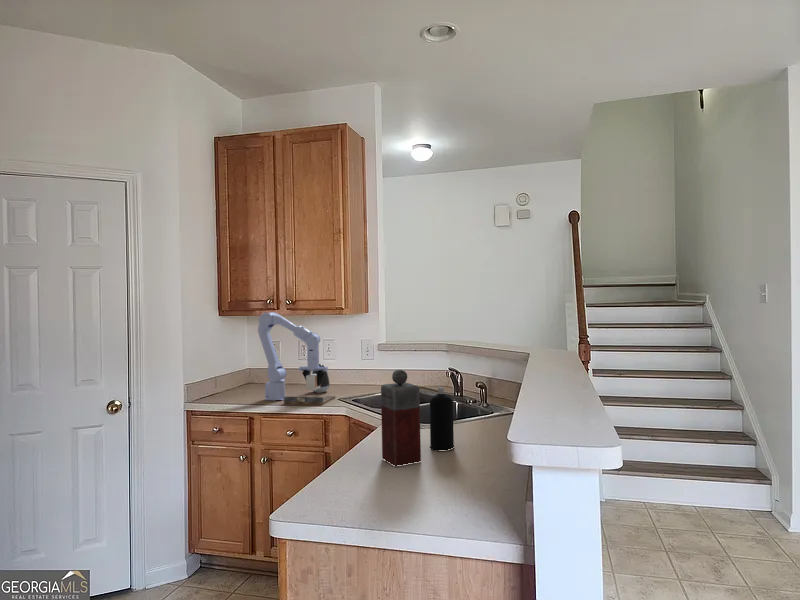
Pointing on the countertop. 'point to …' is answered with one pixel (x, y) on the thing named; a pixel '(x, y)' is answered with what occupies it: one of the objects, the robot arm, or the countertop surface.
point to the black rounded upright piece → (322, 381)
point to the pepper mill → (400, 421)
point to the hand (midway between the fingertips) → (313, 385)
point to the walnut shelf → (308, 399)
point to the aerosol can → (441, 421)
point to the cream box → (311, 382)
